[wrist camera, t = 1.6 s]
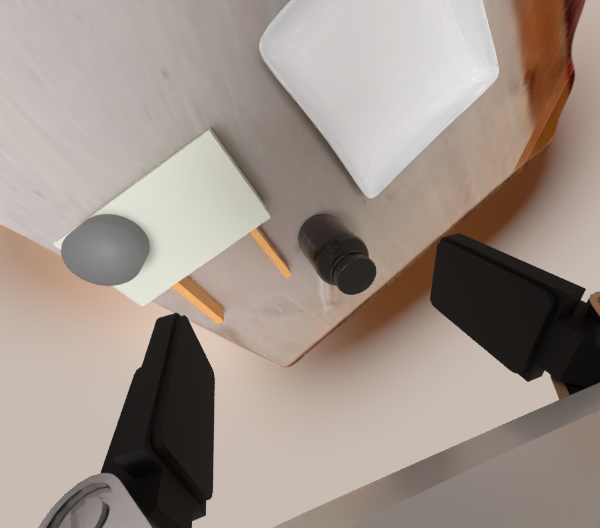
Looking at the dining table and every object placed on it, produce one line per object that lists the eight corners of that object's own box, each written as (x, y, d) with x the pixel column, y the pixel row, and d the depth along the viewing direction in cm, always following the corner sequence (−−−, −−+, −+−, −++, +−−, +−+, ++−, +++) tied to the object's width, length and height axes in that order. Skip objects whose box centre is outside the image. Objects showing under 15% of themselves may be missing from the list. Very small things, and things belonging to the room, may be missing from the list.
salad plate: (412, -148, 22) (440, -187, 19) (480, 78, 34) (505, 74, 31) (247, 52, 26) (251, 44, 23) (359, 196, 37) (371, 203, 34)
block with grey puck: (210, 127, 28) (207, 132, 20) (301, 255, 39) (321, 288, 31) (80, 221, 29) (33, 259, 21) (205, 320, 40) (202, 367, 32)
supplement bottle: (324, 262, 41) (359, 310, 31) (288, 244, 37) (315, 292, 27) (349, 226, 39) (396, 264, 29) (315, 204, 35) (353, 239, 25)
